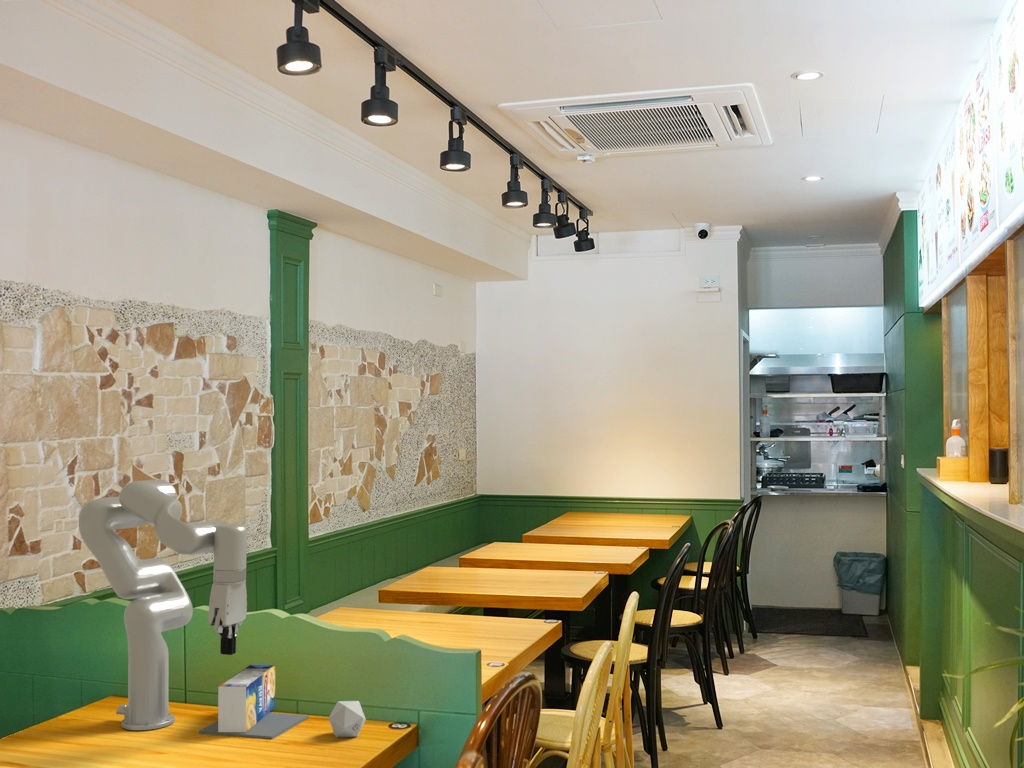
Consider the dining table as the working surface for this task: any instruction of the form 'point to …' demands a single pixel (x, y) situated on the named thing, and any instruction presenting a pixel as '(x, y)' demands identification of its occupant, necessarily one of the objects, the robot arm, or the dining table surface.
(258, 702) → the beverage box
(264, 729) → the mat
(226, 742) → the dining table surface
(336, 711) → the die
